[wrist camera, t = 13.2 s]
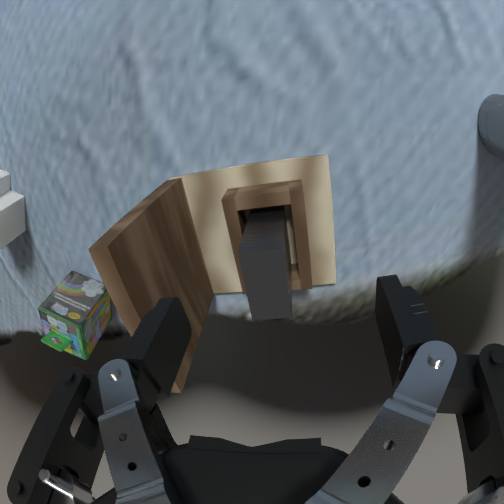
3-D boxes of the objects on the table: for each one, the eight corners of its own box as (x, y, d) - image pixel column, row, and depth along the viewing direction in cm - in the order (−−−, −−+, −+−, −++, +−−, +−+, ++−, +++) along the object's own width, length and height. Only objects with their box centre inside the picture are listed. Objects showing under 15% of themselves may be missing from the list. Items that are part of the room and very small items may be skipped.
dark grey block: (284, 200, 36) (283, 248, 25) (291, 257, 40) (291, 317, 29) (251, 204, 36) (237, 252, 26) (261, 259, 40) (252, 320, 30)
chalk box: (75, 304, 51) (37, 354, 38) (71, 268, 47) (24, 320, 34) (113, 320, 52) (78, 377, 39) (112, 285, 47) (69, 344, 34)
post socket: (326, 154, 33) (367, 214, 17) (335, 279, 42) (355, 388, 25) (170, 178, 37) (88, 249, 20) (202, 290, 45) (165, 391, 29)
